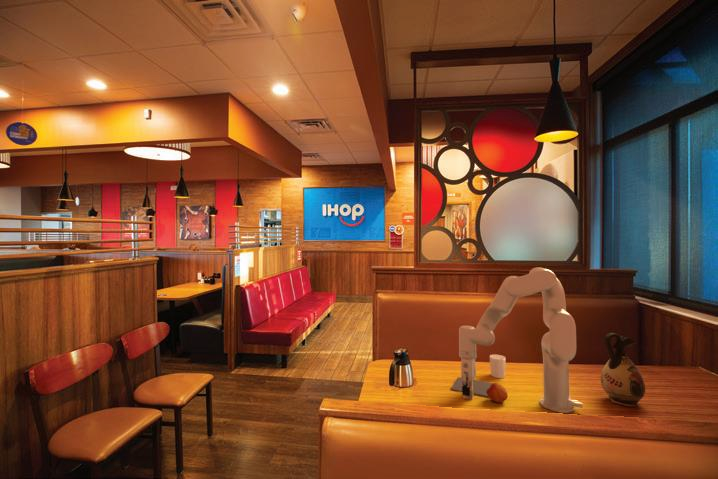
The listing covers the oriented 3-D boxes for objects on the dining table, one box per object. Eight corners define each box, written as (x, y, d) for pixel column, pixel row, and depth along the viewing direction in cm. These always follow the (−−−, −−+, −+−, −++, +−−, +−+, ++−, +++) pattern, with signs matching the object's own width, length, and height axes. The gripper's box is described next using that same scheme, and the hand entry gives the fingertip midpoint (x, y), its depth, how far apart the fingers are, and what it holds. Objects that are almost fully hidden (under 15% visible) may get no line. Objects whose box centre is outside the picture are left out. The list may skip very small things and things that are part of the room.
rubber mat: (494, 384, 165) (494, 383, 165) (490, 397, 151) (490, 396, 151) (457, 378, 173) (457, 376, 173) (450, 389, 159) (450, 388, 159)
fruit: (494, 395, 153) (493, 378, 153) (510, 402, 147) (510, 384, 147) (484, 400, 148) (483, 382, 149) (501, 407, 142) (500, 388, 142)
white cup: (486, 374, 178) (486, 355, 178) (497, 372, 181) (497, 353, 182) (498, 379, 171) (498, 360, 171) (509, 377, 174) (509, 358, 174)
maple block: (473, 396, 152) (473, 376, 153) (472, 400, 149) (471, 379, 149) (464, 394, 154) (464, 375, 155) (462, 398, 151) (462, 378, 151)
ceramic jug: (624, 393, 154) (623, 328, 155) (655, 409, 139) (653, 338, 139) (589, 394, 154) (587, 329, 154) (616, 411, 138) (614, 338, 139)
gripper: (472, 360, 143) (473, 400, 142) (479, 349, 158) (479, 385, 157) (455, 357, 146) (455, 397, 146) (463, 347, 161) (463, 382, 161)
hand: (468, 391), depth 152 cm, fingers open, 9 cm apart
